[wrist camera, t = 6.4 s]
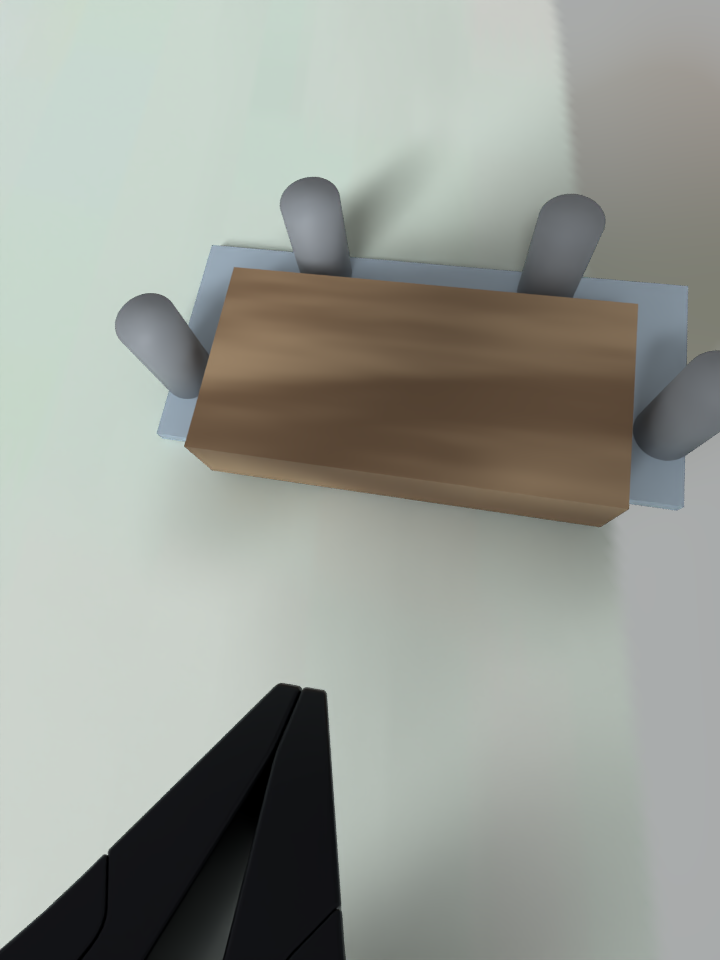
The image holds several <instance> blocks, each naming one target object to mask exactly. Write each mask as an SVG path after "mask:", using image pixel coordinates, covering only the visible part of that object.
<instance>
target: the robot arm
mask: <svg viewBox="0 0 720 960" xmlns="http://www.w3.org/2000/svg"><path fill="white" fill-rule="evenodd" d="M0 960H346V956H345V946H344V933H343V918H342V911H341V893H340V878H339V864H338V849H337V835H336V820H335V806H334V791H333V777H332V762H331V747H330V733H329V718H328V704H327V693H326V691H324V690H320V689H314V688H309V687H305V688H303V690H302V688H301V687H300V686H297V685H291V684H286V683H279V684H277V685H276V686H275V687H274V688H273V689H272V690H271V691H270V692H269V693H267V694H266V695H265V696H264V697H263V698H262V699H261V700H260V701H259V702H258V703H257V704H256V705H255V706H254V707H253V708H252V709H251V710H250V711H249V712H248V713H247V714H246V715H245V716H244V717H243V718H242V719H241V720H240V721H239V722H238V723H237V724H236V725H235V726H234V727H233V728H232V729H231V730H230V731H229V732H228V733H227V734H226V735H225V736H224V737H223V738H222V739H221V740H220V741H219V742H218V743H217V744H216V745H215V746H214V747H213V748H212V749H211V750H210V751H209V752H208V753H207V754H206V755H205V756H204V757H202V758H201V759H200V760H199V761H198V762H197V763H196V764H195V765H194V766H193V767H192V768H191V769H190V770H189V771H188V772H187V773H186V774H185V775H184V776H183V777H182V778H181V779H180V780H179V781H178V782H177V783H176V784H175V785H174V786H173V787H172V788H171V789H170V790H169V791H168V792H167V793H166V794H165V795H164V796H163V797H162V798H161V799H160V800H159V801H158V802H157V803H156V804H155V805H154V806H153V807H152V808H151V809H150V810H149V811H148V812H147V813H146V814H145V815H144V816H143V817H142V818H141V819H140V820H138V821H137V822H136V823H135V824H134V825H133V826H132V827H131V828H130V829H129V830H128V831H127V832H126V833H125V834H124V835H123V836H122V837H121V838H120V839H119V840H118V841H117V842H116V843H115V844H114V845H113V846H112V847H111V848H110V849H109V851H108V855H106V854H104V855H103V856H102V857H100V858H99V859H98V860H97V861H96V862H95V863H94V864H93V865H92V866H91V867H90V868H89V869H88V870H87V871H86V872H85V873H84V874H83V875H82V876H81V877H80V878H79V879H78V880H77V881H76V882H75V883H74V884H73V885H72V886H71V887H70V888H69V889H68V890H67V891H65V892H64V893H63V894H62V895H61V896H60V897H59V898H58V899H57V900H56V901H55V902H54V903H53V904H52V905H51V906H50V907H49V908H47V909H46V910H45V911H44V912H43V913H42V914H41V915H40V916H38V917H37V918H36V919H35V920H34V921H33V922H32V923H30V924H29V925H28V926H27V927H26V928H25V929H23V930H22V931H21V932H20V933H19V934H18V935H17V936H15V937H14V938H13V939H12V940H11V941H10V942H8V943H7V944H6V945H5V946H4V947H3V948H2V949H0Z"/></svg>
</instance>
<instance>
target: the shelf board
mask: <svg viewBox="0 0 720 960" xmlns="http://www.w3.org/2000/svg"><path fill="white" fill-rule="evenodd" d="M637 321H638V304H634V303H623V302H612V301H601V300H590V299H579V298H568V297H558V296H547V295H536V294H525V293H514V292H503V291H492V290H481V289H470V288H459V287H448V286H437V285H426V284H415V283H404V282H393V281H382V280H371V279H360V278H349V277H338V276H327V275H316V274H305V273H294V272H283V271H272V270H261V269H250V268H239V267H234V269H233V272H232V276H231V279H230V283H229V287H228V290H227V294H226V297H225V301H224V305H223V308H222V312H221V315H220V319H219V323H218V326H217V330H216V333H215V337H214V341H213V344H212V348H211V351H210V355H209V359H208V362H207V366H206V369H205V373H204V377H203V380H202V384H201V387H200V391H199V395H198V398H197V402H196V405H195V409H194V413H193V416H192V420H191V423H190V427H189V431H188V434H187V438H186V441H185V445H184V447H186V448H187V449H188V450H189V451H190V452H191V453H193V454H194V455H195V456H196V457H197V458H198V459H200V460H201V461H202V462H203V463H204V464H205V465H207V466H208V467H209V468H210V469H211V470H214V471H221V472H228V473H234V474H241V475H248V476H255V477H262V478H269V479H275V480H282V481H289V482H296V483H303V484H309V485H316V486H323V487H330V488H337V489H344V490H350V491H357V492H364V493H371V494H378V495H384V496H391V497H398V498H405V499H412V500H419V501H425V502H432V503H439V504H446V505H453V506H460V507H466V508H473V509H480V510H487V511H494V512H500V513H507V514H514V515H521V516H528V517H535V518H541V519H548V520H555V521H562V522H569V523H575V524H582V525H589V526H596V527H601V526H603V525H604V524H606V523H608V522H609V521H611V520H612V519H614V518H616V517H617V516H619V515H620V514H622V513H624V512H625V511H626V510H628V509H629V497H630V475H631V453H632V431H633V409H634V387H635V365H636V343H637Z"/></svg>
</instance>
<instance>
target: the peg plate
mask: <svg viewBox="0 0 720 960" xmlns="http://www.w3.org/2000/svg"><path fill="white" fill-rule="evenodd" d="M280 210H281V213H282V216H283V219H284V223H285V226H286V229H287V232H288V235H289V239H290V242H291V245H292V248H293V252H286V251H275V250H263V249H251V248H240V247H228V246H217V245H212V247H211V250H210V254H209V257H208V260H207V264H206V267H205V271H204V274H203V277H202V281H201V284H200V288H199V291H198V294H197V298H196V301H195V305H194V308H193V311H192V315H191V318H190V322H189V325H187V323H186V322H185V320H184V319H183V318H182V316H181V315H180V313H179V312H178V311H177V309H176V308H175V306H174V305H173V304H172V302H171V301H170V300H169V299H168V298H166V297H165V296H162V295H160V294H155V293H147V294H142V295H139V296H136V297H134V298H132V299H131V300H129V301H128V302H127V303H126V304H125V305H124V306H123V307H122V308H121V310H120V311H119V313H118V315H117V317H116V321H115V330H116V334H117V336H118V338H119V339H120V341H121V342H122V343H123V344H124V345H125V346H126V347H127V348H128V349H129V350H130V351H131V352H132V353H133V354H134V355H135V356H136V357H137V358H138V359H139V360H140V361H141V362H142V363H143V364H144V365H145V366H146V367H147V368H148V369H149V370H150V371H151V372H152V373H153V374H154V376H155V377H156V378H157V379H158V380H159V381H160V382H161V383H162V384H163V385H164V386H165V387H166V388H167V389H168V390H169V393H168V396H167V400H166V403H165V407H164V410H163V413H162V417H161V420H160V424H159V427H158V430H157V434H158V435H159V436H160V437H162V438H164V439H171V440H178V441H186V438H187V434H188V431H189V427H190V423H191V420H192V416H193V413H194V409H195V405H196V402H197V398H198V395H199V391H200V387H201V384H202V380H203V377H204V373H205V369H206V366H207V362H208V359H209V355H210V351H211V348H212V344H213V341H214V337H215V333H216V330H217V326H218V323H219V319H220V315H221V312H222V308H223V305H224V301H225V297H226V294H227V290H228V287H229V283H230V279H231V276H232V272H233V269H234V267H239V268H250V269H261V270H272V271H283V272H294V273H305V274H316V275H327V276H338V277H349V278H360V279H371V280H382V281H393V282H404V283H415V284H426V285H437V286H448V287H459V288H470V289H481V290H492V291H503V292H514V293H525V294H536V295H547V296H558V297H568V298H579V299H590V300H601V301H612V302H623V303H634V304H638V321H637V343H636V365H635V387H634V409H633V431H632V453H631V475H630V497H629V504H634V505H641V506H649V507H656V508H663V509H670V510H679V509H681V508H683V507H684V479H685V477H684V476H685V456H686V455H687V454H688V453H690V452H691V451H693V450H694V449H696V448H697V447H698V446H700V445H702V444H703V443H704V442H706V441H707V440H709V439H710V438H712V437H713V436H714V435H716V434H717V433H719V432H720V351H709V352H705V353H703V354H700V355H699V356H697V357H695V358H694V359H693V360H692V361H691V362H690V363H689V364H688V365H687V314H688V286H681V285H669V284H657V283H646V282H633V281H623V280H611V279H599V278H588V277H582V276H583V274H584V272H585V270H586V268H587V265H588V263H589V261H590V259H591V257H592V254H593V252H594V250H595V248H596V246H597V244H598V241H599V239H600V237H601V235H602V233H603V230H604V227H605V215H604V212H603V210H602V209H601V207H600V206H599V205H598V204H597V203H596V202H595V201H593V200H592V199H590V198H588V197H585V196H583V195H578V194H564V195H560V196H557V197H555V198H553V199H551V200H549V201H548V202H547V203H546V204H545V205H544V206H543V207H542V209H541V211H540V213H539V216H538V219H537V223H536V226H535V230H534V233H533V237H532V240H531V244H530V247H529V250H528V254H527V257H526V261H525V264H524V268H523V271H522V272H518V271H507V270H495V269H483V268H472V267H460V266H449V265H437V264H425V263H414V262H402V261H391V260H379V259H367V258H356V257H350V255H349V249H348V243H347V237H346V231H345V225H344V219H343V213H342V207H341V201H340V195H339V192H338V190H337V188H336V187H335V185H334V184H333V183H331V182H330V181H328V180H326V179H324V178H320V177H307V178H303V179H300V180H297V181H295V182H294V183H292V184H291V185H290V186H288V187H287V189H286V190H285V191H284V192H283V194H282V196H281V199H280Z"/></svg>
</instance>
